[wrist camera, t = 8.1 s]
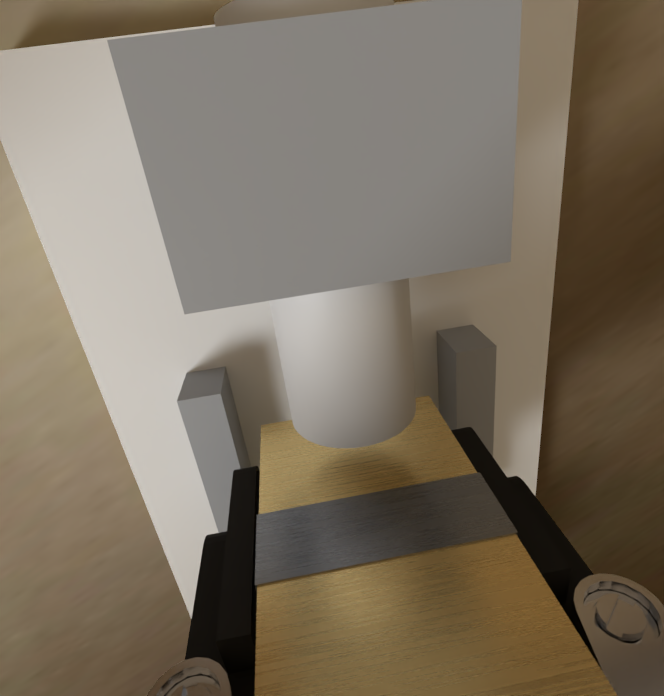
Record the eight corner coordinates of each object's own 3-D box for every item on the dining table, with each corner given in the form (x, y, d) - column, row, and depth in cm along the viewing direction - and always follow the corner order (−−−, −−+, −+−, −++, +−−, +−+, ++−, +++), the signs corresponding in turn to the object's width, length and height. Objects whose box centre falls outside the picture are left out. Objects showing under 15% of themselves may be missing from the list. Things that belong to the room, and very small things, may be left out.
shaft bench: (510, 589, 19) (612, 779, 13) (219, 650, 18) (198, 878, 12) (547, -4, 10) (879, -172, 5) (0, 64, 10) (-377, -43, 4)
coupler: (429, 394, 11) (734, 873, 4) (434, 519, 13) (648, 1008, 5) (259, 424, 11) (243, 998, 4) (288, 548, 12) (316, 1099, 5)
